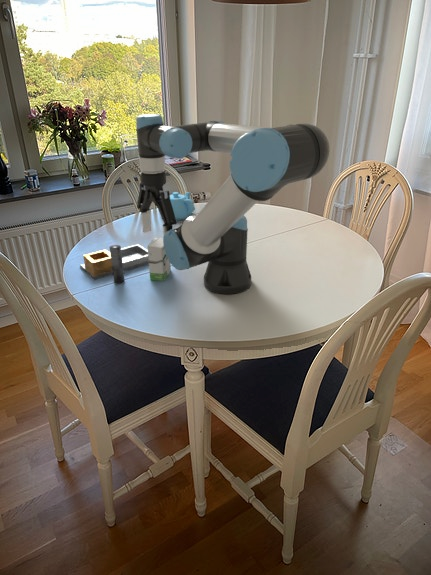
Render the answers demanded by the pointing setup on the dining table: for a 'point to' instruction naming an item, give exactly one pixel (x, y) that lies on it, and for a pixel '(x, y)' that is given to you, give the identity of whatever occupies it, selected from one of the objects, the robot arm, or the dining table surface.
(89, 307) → the dining table surface
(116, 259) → the round pin
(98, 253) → the two-compartment tray
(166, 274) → the ink box
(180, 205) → the teapot
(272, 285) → the dining table surface
